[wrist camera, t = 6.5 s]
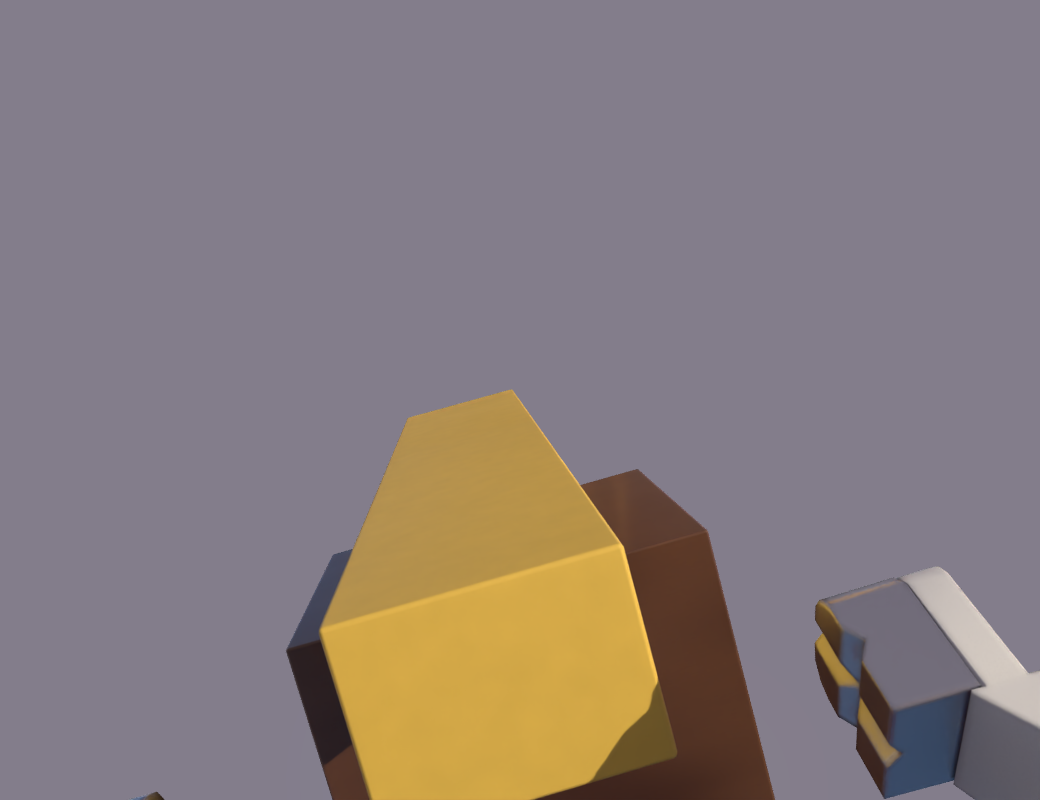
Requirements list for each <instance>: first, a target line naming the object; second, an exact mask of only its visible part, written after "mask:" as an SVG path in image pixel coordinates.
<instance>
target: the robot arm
mask: <svg viewBox="0 0 1040 800" xmlns="http://www.w3.org/2000/svg"><path fill="white" fill-rule="evenodd" d="M815 620H816V622H817V624H818V626H819V627H820V629H821V631H822V632H823V633H822V635H821V636H820V637H819V638H818V640H817V641H816V642H815V661H816V665H817V668H818V672H819V676H820V680H821V683H822V685H823V687H824V690H825V692H826V694H827V696H828V699H829V701H830V703H831V704H832V706H833V708H834V710H835V712H836V714H837V715H838V717H839V718H841V719H843V720H845V721H846V722H848V723H850V724H851V725H853V726H855V727H857V741H856V743H857V744H856V750H857V751H858V753H859V755H860V757H861V759H862V760H863V762H864V764H865V765H866V767H867V769H868V771H869V772H870V774H871V776H872V778H873V780H874V781H875V783H876V785H877V787H878V789H879V790H880V792H881V794H882V795H883V797H884V799H886V798H890V797H893V796H897V795H900V794H905V793H908V792H912V791H916V790H919V789H923V788H927V787H930V786H934V785H938V784H942V783H946V782H949V781H953V780H954V785H955V786H956V787H958V788H959V789H961V790H962V791H964V792H965V793H966V794H968V795H969V796H970V797H972V798H973V799H975V800H1040V671H1035V672H1031V673H1027V671H1026V670H1025V669H1024V668H1023V666H1022V665H1021V664H1020V663H1019V661H1018V660H1017V659H1016V658H1015V656H1014V655H1013V654H1012V653H1011V651H1010V650H1009V649H1008V647H1007V646H1006V645H1005V644H1004V642H1003V641H1002V640H1001V639H1000V637H999V636H998V635H997V634H996V632H994V630H993V629H992V627H991V626H990V625H989V624H988V623H987V621H986V620H985V619H984V618H983V616H982V615H981V614H980V613H979V611H978V610H977V609H976V608H975V606H974V605H973V604H972V603H971V601H970V600H969V599H968V598H967V596H966V595H965V594H964V593H963V591H962V590H961V589H960V588H959V586H958V585H957V584H956V583H955V582H954V580H953V579H952V578H951V576H950V575H949V574H948V573H947V572H946V571H944V570H942V569H941V568H939V567H931V568H928V569H925V570H922V571H918V572H915V573H912V574H908V575H906V576H902V577H899V578H890V579H887V580H884V581H880V582H877V583H874V584H871V585H867V586H864V587H861V588H858V589H854V590H851V591H848V592H845V593H841V594H838V595H835V596H831V597H828V598H825V599H822V600H819V602H818V603H817V605H816V611H815ZM129 800H164V799H163V798H162V796H160V794H158V792H155V793H151V794H147V795H143V796H140V797H136V798H132V799H129Z"/></svg>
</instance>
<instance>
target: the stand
mask: <svg viewBox="0 0 1040 800" xmlns="http://www.w3.org/2000/svg"><path fill="white" fill-rule="evenodd" d="M580 486H581V487H582V489H583V490H584V491H585V493H586V494H587V496H588V497H589V498H590V500H591V501H592V503H593V504H594V506H595V507H596V508H597V510H598V511H599V513H600V514H601V515H602V517H603V518H604V520H605V521H606V522H607V524H608V525H609V527H610V528H611V529H612V531H613V532H614V534H615V535H616V537H617V538H618V539H619V541H620V542H621V544H622V545H623V546H624V550H625V554H626V557H627V561H628V565H629V569H630V573H631V576H632V580H633V584H634V588H635V592H636V596H637V599H638V603H639V607H640V611H641V615H642V618H643V622H644V626H645V630H646V634H647V638H648V641H649V645H650V649H651V653H652V657H653V660H654V664H655V668H656V672H657V676H658V680H659V683H660V687H661V691H662V695H663V699H664V702H665V706H666V710H667V714H668V718H669V721H670V725H671V729H672V733H673V737H674V741H675V744H676V748H677V756H676V757H675V758H673V759H670V760H666V761H663V762H659V763H656V764H653V765H649V766H646V767H643V768H639V769H636V770H632V771H629V772H626V773H622V774H619V775H615V776H612V777H609V778H605V779H602V780H599V781H595V782H592V783H588V784H585V785H582V786H578V787H575V788H572V789H568V790H565V791H561V792H558V793H555V794H551V795H548V796H545V797H541V798H538V799H534V800H775V798H774V794H773V790H772V786H771V782H770V778H769V774H768V770H767V766H766V762H765V758H764V754H763V750H762V746H761V742H760V738H759V734H758V730H757V726H756V722H755V718H754V714H753V710H752V706H751V702H750V698H749V694H748V690H747V686H746V682H745V678H744V674H743V670H742V666H741V662H740V658H739V654H738V650H737V646H736V642H735V638H734V634H733V630H732V626H731V622H730V618H729V614H728V610H727V606H726V602H725V598H724V594H723V590H722V586H721V582H720V578H719V574H718V570H717V566H716V562H715V558H714V554H713V550H712V546H711V542H710V538H709V534H708V531H707V530H706V529H705V528H704V527H703V526H702V525H701V524H700V523H698V522H697V521H696V520H695V519H694V518H693V517H692V516H690V515H689V514H688V513H687V512H686V511H685V510H684V509H682V508H681V507H680V506H679V505H678V504H677V503H676V502H675V501H673V500H672V499H671V498H670V497H669V496H668V495H666V494H665V493H664V492H663V491H662V490H661V489H660V488H659V487H657V486H656V485H655V484H654V483H653V482H652V481H651V480H649V479H648V478H647V477H646V476H645V475H644V474H643V473H642V472H640V471H639V470H638V469H636V470H633V471H629V472H625V473H622V474H618V475H615V476H611V477H608V478H604V479H601V480H598V481H594V482H590V483H586V484H583V485H580ZM352 550H353V549H351V550H348V551H344V552H341V553H338V554H334V555H333V556H332V558H331V560H330V562H329V564H328V566H327V568H326V570H325V572H324V574H323V576H322V578H321V580H320V582H319V584H318V586H317V588H316V590H315V593H314V595H313V597H312V599H311V601H310V603H309V605H308V607H307V609H306V611H305V613H304V615H303V617H302V619H301V621H300V623H299V625H298V627H297V629H296V631H295V633H294V635H293V638H292V639H291V641H290V644H289V645H288V647H287V650H286V652H287V656H288V659H289V662H290V665H291V668H292V672H293V675H294V678H295V681H296V684H297V688H298V691H299V694H300V697H301V700H302V703H303V707H304V710H305V713H306V716H307V720H308V723H309V726H310V729H311V732H312V736H313V739H314V742H315V745H316V748H317V752H318V755H319V758H320V761H321V764H322V767H323V771H324V774H325V777H326V780H327V784H328V787H329V790H330V793H331V796H332V800H370V799H369V796H368V793H367V789H366V786H365V783H364V780H363V776H362V773H361V770H360V767H359V763H358V760H357V757H356V754H355V750H354V747H353V744H352V741H351V737H350V734H349V731H348V728H347V724H346V721H345V718H344V715H343V711H342V708H341V705H340V702H339V698H338V695H337V692H336V689H335V685H334V682H333V679H332V675H331V672H330V669H329V666H328V662H327V659H326V656H325V653H324V649H323V646H322V643H321V640H320V636H319V628H320V626H321V623H322V621H323V619H324V616H325V614H326V612H327V609H328V607H329V604H330V602H331V600H332V597H333V595H334V593H335V590H336V588H337V585H338V583H339V581H340V578H341V576H342V574H343V571H344V569H345V566H346V564H347V562H348V559H349V557H350V554H351V552H352Z"/></svg>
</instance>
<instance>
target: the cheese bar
mask: <svg viewBox="0 0 1040 800" xmlns="http://www.w3.org/2000/svg"><path fill="white" fill-rule="evenodd" d="M319 636H320V640H321V643H322V646H323V649H324V653H325V656H326V659H327V662H328V666H329V669H330V672H331V675H332V679H333V682H334V685H335V689H336V692H337V695H338V698H339V702H340V705H341V708H342V711H343V715H344V718H345V721H346V724H347V728H348V731H349V734H350V737H351V741H352V744H353V747H354V750H355V754H356V757H357V760H358V763H359V767H360V770H361V773H362V776H363V780H364V783H365V786H366V789H367V793H368V796H369V799H370V800H534V799H538V798H541V797H545V796H548V795H551V794H555V793H558V792H561V791H565V790H568V789H572V788H575V787H578V786H582V785H585V784H588V783H592V782H595V781H599V780H602V779H605V778H609V777H612V776H615V775H619V774H622V773H626V772H629V771H632V770H636V769H639V768H643V767H646V766H649V765H653V764H656V763H659V762H663V761H666V760H670V759H673V758H675V757H676V756H677V748H676V744H675V741H674V737H673V733H672V729H671V725H670V721H669V718H668V714H667V710H666V706H665V702H664V699H663V695H662V691H661V687H660V683H659V680H658V676H657V672H656V668H655V664H654V660H653V657H652V653H651V649H650V645H649V641H648V638H647V634H646V630H645V626H644V622H643V618H642V615H641V611H640V607H639V603H638V599H637V596H636V592H635V588H634V584H633V580H632V576H631V573H630V569H629V565H628V561H627V557H626V554H625V550H624V546H623V545H622V544H621V542H620V541H619V539H618V538H617V537H616V535H615V534H614V532H613V531H612V529H611V528H610V527H609V525H608V524H607V522H606V521H605V520H604V518H603V517H602V515H601V514H600V513H599V511H598V510H597V508H596V507H595V506H594V504H593V503H592V501H591V500H590V498H589V497H588V496H587V494H586V493H585V491H584V490H583V489H582V487H581V486H580V484H579V483H578V482H577V480H576V479H575V478H574V476H573V475H572V473H571V472H570V470H569V469H568V468H567V466H566V465H565V463H564V462H563V461H562V459H561V458H560V456H559V455H558V454H557V452H556V451H555V449H554V448H553V447H552V445H551V444H550V442H549V441H548V439H547V438H546V437H545V435H544V434H543V432H542V431H541V430H540V428H539V427H538V425H537V424H536V422H535V421H534V420H533V418H532V417H531V415H530V414H529V413H528V411H527V410H526V408H525V407H524V406H523V404H522V403H521V401H520V400H519V399H518V397H517V396H516V394H515V393H514V391H513V390H507V391H504V392H500V393H497V394H493V395H489V396H486V397H482V398H478V399H475V400H471V401H468V402H464V403H460V404H457V405H453V406H449V407H446V408H442V409H439V410H435V411H431V412H428V413H424V414H420V415H417V416H413V417H410V418H408V419H407V421H406V424H405V426H404V428H403V431H402V433H401V436H400V438H399V440H398V443H397V445H396V447H395V450H394V452H393V455H392V457H391V459H390V462H389V464H388V466H387V469H386V471H385V474H384V476H383V478H382V481H381V483H380V486H379V488H378V490H377V493H376V495H375V497H374V500H373V502H372V505H371V507H370V509H369V512H368V514H367V517H366V519H365V521H364V524H363V526H362V528H361V531H360V533H359V535H358V538H357V540H356V543H355V545H354V548H353V550H352V552H351V554H350V557H349V559H348V562H347V564H346V566H345V569H344V571H343V574H342V576H341V578H340V581H339V583H338V585H337V588H336V590H335V593H334V595H333V597H332V600H331V602H330V604H329V607H328V609H327V612H326V614H325V616H324V619H323V621H322V623H321V626H320V628H319Z"/></svg>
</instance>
